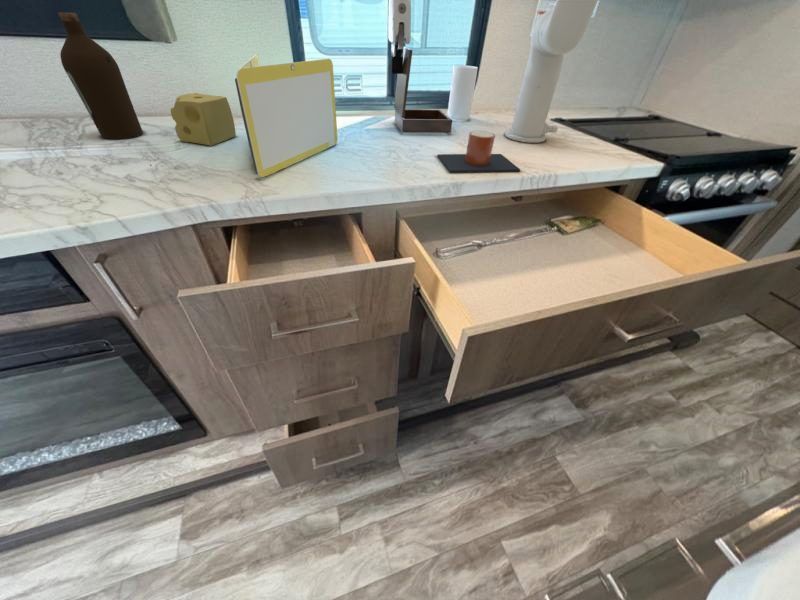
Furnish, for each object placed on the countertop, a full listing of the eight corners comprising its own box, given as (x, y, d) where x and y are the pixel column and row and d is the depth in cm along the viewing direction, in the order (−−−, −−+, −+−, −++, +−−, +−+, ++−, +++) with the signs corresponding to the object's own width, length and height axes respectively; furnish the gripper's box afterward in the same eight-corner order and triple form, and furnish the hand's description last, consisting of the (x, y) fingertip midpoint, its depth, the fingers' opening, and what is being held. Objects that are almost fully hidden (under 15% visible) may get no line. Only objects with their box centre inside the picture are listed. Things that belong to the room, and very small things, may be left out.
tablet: (258, 135, 95) (240, 50, 83) (334, 134, 100) (328, 53, 87) (245, 181, 70) (216, 68, 57) (349, 177, 74) (343, 71, 62)
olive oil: (147, 128, 95) (99, 13, 79) (144, 138, 88) (92, 14, 72) (101, 131, 91) (42, 11, 75) (95, 141, 84) (28, 12, 68)
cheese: (179, 141, 88) (163, 97, 81) (208, 131, 96) (196, 91, 89) (212, 147, 86) (198, 102, 79) (239, 136, 94) (229, 95, 87)
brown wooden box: (438, 123, 116) (440, 109, 113) (450, 135, 105) (452, 120, 103) (394, 123, 114) (395, 109, 111) (402, 135, 103) (402, 119, 100)
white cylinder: (468, 117, 126) (476, 66, 115) (469, 122, 119) (478, 68, 109) (446, 115, 126) (453, 64, 116) (446, 120, 120) (453, 67, 109)
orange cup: (484, 157, 88) (489, 130, 83) (492, 165, 83) (499, 137, 79) (461, 157, 87) (466, 130, 82) (469, 165, 82) (474, 137, 78)
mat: (500, 156, 91) (501, 153, 91) (519, 171, 82) (520, 169, 82) (437, 156, 88) (437, 154, 88) (450, 172, 79) (450, 170, 79)
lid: (402, 45, 100) (400, 45, 100) (412, 50, 89) (409, 49, 89) (396, 107, 111) (393, 107, 110) (404, 118, 100) (401, 117, 100)
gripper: (419, -12, 81) (414, 77, 93) (408, -9, 93) (404, 70, 104) (389, -14, 80) (387, 76, 92) (381, -11, 91) (380, 69, 103)
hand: (396, 73), depth 98 cm, fingers closed
